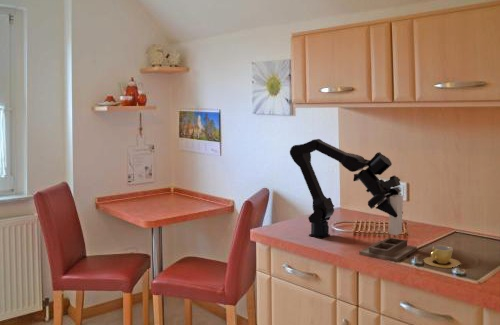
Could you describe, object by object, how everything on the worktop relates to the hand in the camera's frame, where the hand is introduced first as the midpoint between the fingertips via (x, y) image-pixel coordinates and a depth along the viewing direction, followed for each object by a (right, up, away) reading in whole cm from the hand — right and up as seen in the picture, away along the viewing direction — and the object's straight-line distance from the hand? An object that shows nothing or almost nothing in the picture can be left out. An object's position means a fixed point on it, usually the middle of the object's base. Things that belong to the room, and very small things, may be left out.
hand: (399, 215), depth 188 cm
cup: (+10, -15, -14) cm, 23 cm away
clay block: (-1, -7, +2) cm, 7 cm away
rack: (-5, -13, -2) cm, 14 cm away
